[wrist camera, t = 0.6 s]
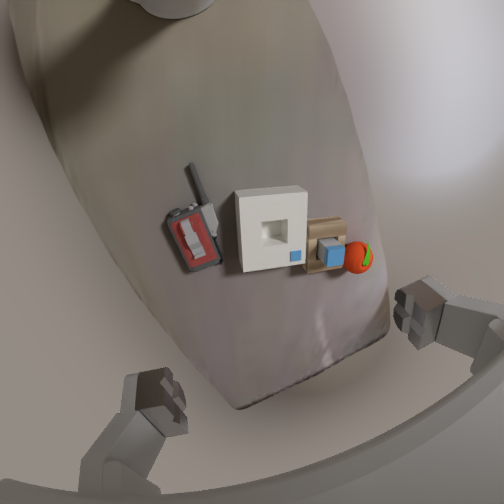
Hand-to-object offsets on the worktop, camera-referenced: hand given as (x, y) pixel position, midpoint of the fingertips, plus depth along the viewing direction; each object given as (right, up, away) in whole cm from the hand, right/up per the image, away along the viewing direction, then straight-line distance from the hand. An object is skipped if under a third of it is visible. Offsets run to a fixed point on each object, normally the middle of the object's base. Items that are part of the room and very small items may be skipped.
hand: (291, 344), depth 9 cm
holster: (+13, +5, +50) cm, 52 cm away
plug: (+13, +5, +49) cm, 51 cm away
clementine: (+21, +4, +53) cm, 57 cm away
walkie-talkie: (-12, +9, +43) cm, 46 cm away
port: (+2, +8, +46) cm, 47 cm away
